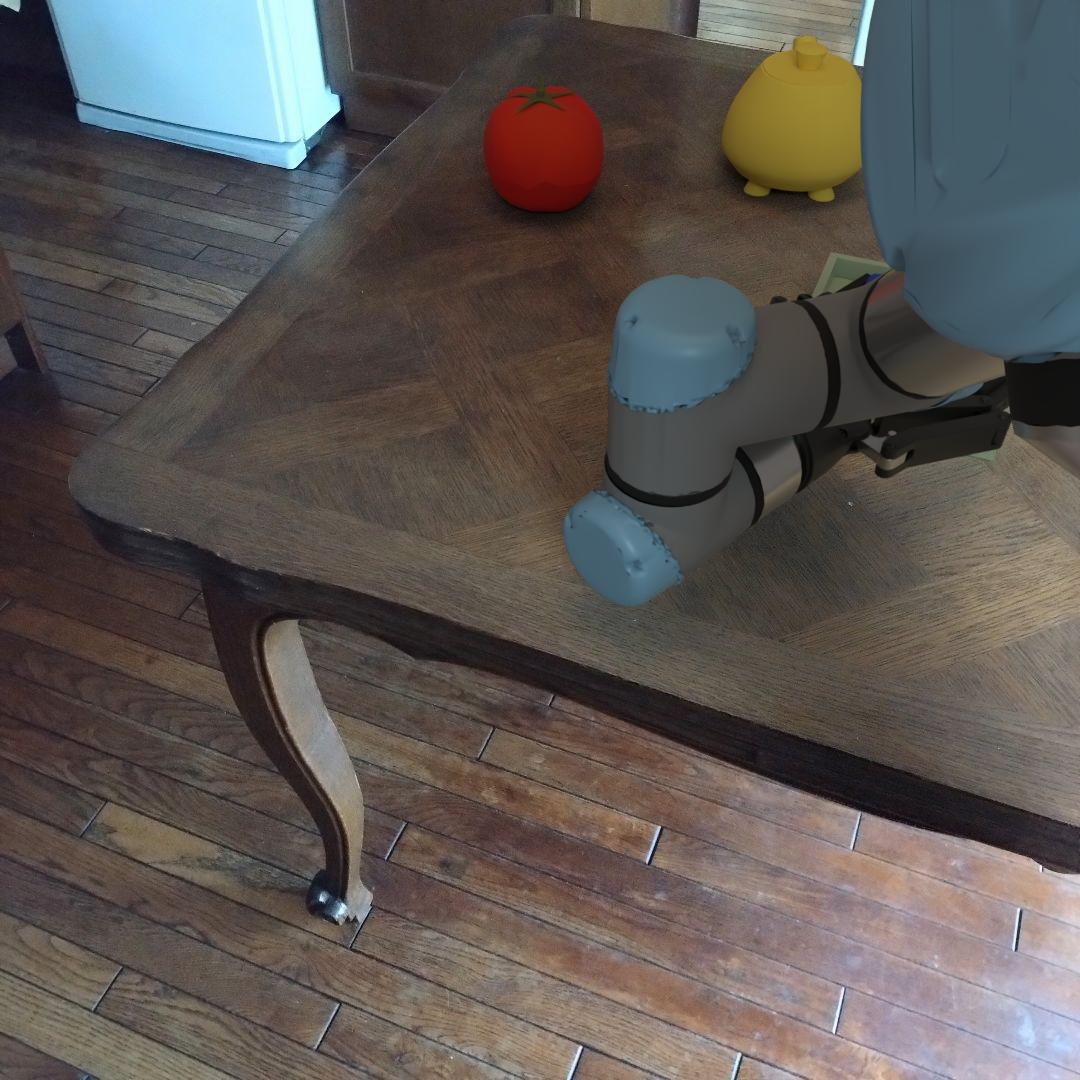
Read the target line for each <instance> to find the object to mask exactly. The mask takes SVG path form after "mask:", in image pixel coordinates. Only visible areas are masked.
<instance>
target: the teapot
mask: <svg viewBox="0 0 1080 1080" xmlns="http://www.w3.org/2000/svg"><path fill="white" fill-rule="evenodd" d="M828 51H829V49H828V47H827V46H826V45H824V44H822V43H819V42H818V39H817V38H816V37H814V36H810V35H803V36H797V37H795V38H794V39H793V42H792V49H789V50H783V51H779V52H776V53H773V54H771V55H769V56H768V57H766V58H765V59H764V60H763V61H762V62H761V63H760V64H759V65H758V66H757V67H756V68H755V69H754V71H753V72H752V74H751V75H750V76H749V77H748V78H747V80H746V81H745V82H744V84H742V86H741V88H740V89H739V91H738V92H737V94H736V95H735V97H734V99H733V101H732V103H731V104H730V106H729V110H728V111H727V114H726V117H725V120H724V124H723V127H722V130H721V136H720V137H721V140H720V141H721V142H720V143H721V147H722V150H723V153H724V154H725V156H726V158H727V159H728V161H729V163H730V164H731V165H732V166H733V167H734V168H735V170H736V171H737V172H738V173H739V174H740V175H741V176H743V178H745V179H746V180H748V181H747V182H746V184H745V186H744V187H743V191H744V193H745V194H746V195H750V196H752V197H765V196H768V195H769V194H770V193H771V190H772V189H774V190H775V189H776V190H781V191H790V192H807V196H808V197H809V198H810V199H811V200H813V201H816V202H819V203H820V202H821V203H823V202H824V203H827V202H830V201H834V199H835V193H834V190H833V188H835V187H836V186H839V185H841V184H843V183H844V182H846V181H847V180H848V179H850V178H851V177H853V176H854V175H855V174H856V173H857V172H859V171H860V170H862V161H861V142H860V110H861V88H862V79H861V77H860V76H859V73H858V72H857V70H856V68H855V66H854V65H853V64H852V63H851V62H850V61H849V60H848V59H846V58H844V57H842V56H840V55H837V54H834V53H831V52H828Z"/></svg>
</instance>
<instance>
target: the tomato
mask: <svg viewBox="0 0 1080 1080" xmlns="http://www.w3.org/2000/svg"><path fill="white" fill-rule="evenodd" d="M585 89H586V88H582V89H581V88H580V89H576V90H571V89H570V88H567V87H564V86H557V85H556V86H555V85H550V86H546V87H545V81H544V75H543V74H541V75H540V77H539V82H538V87H537V88H534V87H529V86H525V85H521V86H519V87H517V88H515V89H512V90H510V91H508V92H507V94H506V95H505V97H504V98H503V97H502V98H501V97H500V100H501V99H502V100H503V101H501V102H500V103H498V104H497V106H496V107H495V108H494V109H492V110H491V112H490V114H489V116H488V120H487V123H486V124H485V128H484V131H483V149H482V150H483V157H484V162H485V166H486V170H487V173H488V176H489V179H490V181H491V184H492V187H493V189H494V190H495V191H496V193H497V195H498V196H500V197H501V198H502V199H504V200H505V201H506V202H507V203H509V204H510V205H511V206H512V207H515V208H517V209H518V208H519V209H522V210H525V211H529V212H543V213H544V212H546V213H548V212H550V213H551V212H554V213H557V212H558V213H562V212H564V211H568V210H570V209H573V208H575V207H576V206H577V205H578V204H580V203H581V202H582V201H583V200H584V199H585V198H586V197H587V196H588V195H589V194H590V193H591V192H592V191H593V189H594V187H595V186H596V184H597V183H598V181H599V179H600V177H601V175H602V172H603V164H604V157H605V155H604V153H605V145H604V137H603V135H604V134H603V129H602V125H601V122H600V119H599V118H598V116H597V114H596V113H595V111H594V110H593V109H592V108H591V106H590V105H589V104H588V103H587V102H586V100H585V99H584V98H583V97H582V96H580V95H579V94H577V92H580V91H582V90H585Z"/></svg>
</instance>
